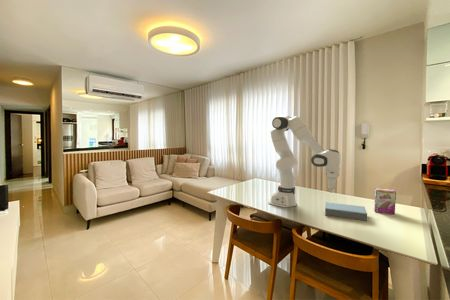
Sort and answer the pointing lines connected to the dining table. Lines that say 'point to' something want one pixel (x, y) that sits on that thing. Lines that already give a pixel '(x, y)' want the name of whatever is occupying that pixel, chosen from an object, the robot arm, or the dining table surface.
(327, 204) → the panel
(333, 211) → the cable duct
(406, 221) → the dining table surface
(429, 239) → the dining table surface
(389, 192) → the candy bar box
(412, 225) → the dining table surface
